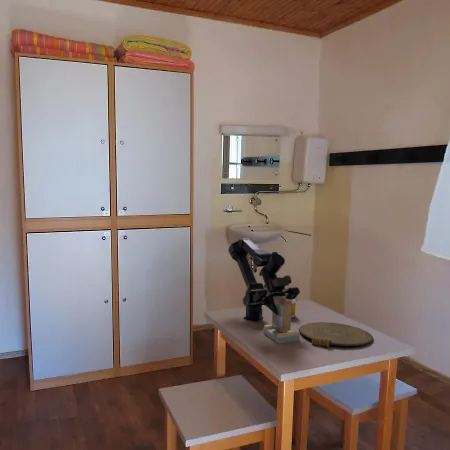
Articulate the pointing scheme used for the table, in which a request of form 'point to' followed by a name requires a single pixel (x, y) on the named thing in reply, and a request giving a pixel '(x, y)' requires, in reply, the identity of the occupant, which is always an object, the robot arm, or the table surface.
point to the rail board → (281, 335)
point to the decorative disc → (335, 334)
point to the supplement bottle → (293, 308)
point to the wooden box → (282, 315)
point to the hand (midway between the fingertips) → (283, 314)
